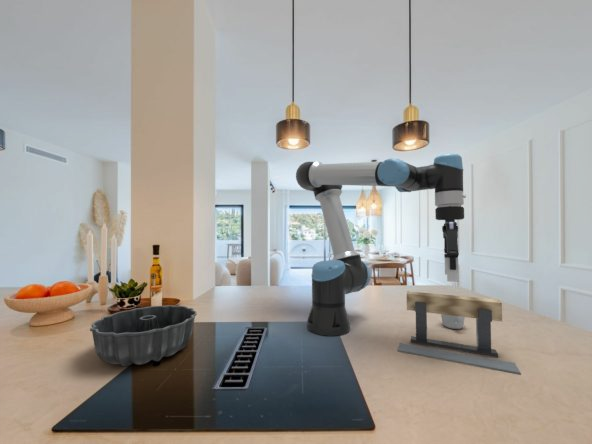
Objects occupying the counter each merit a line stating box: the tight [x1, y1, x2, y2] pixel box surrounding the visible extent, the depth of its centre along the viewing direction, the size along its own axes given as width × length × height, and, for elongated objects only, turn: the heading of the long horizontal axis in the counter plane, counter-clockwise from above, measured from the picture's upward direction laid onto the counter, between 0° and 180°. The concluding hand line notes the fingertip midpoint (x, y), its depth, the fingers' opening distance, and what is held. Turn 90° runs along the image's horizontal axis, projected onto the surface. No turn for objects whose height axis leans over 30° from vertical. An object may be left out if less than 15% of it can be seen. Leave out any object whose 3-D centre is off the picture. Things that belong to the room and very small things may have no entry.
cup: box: [440, 314, 465, 330], centre depth 97 cm, size 11×8×8 cm
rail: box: [406, 290, 503, 322], centre depth 81 cm, size 24×4×5 cm, turn 64°
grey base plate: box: [397, 342, 522, 375], centre depth 74 cm, size 28×6×1 cm, turn 64°
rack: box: [410, 302, 499, 358], centre depth 80 cm, size 22×7×13 cm, turn 64°
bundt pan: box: [89, 304, 198, 367], centre depth 78 cm, size 26×26×10 cm
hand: (451, 277), depth 81 cm, fingers open, 13 cm apart
